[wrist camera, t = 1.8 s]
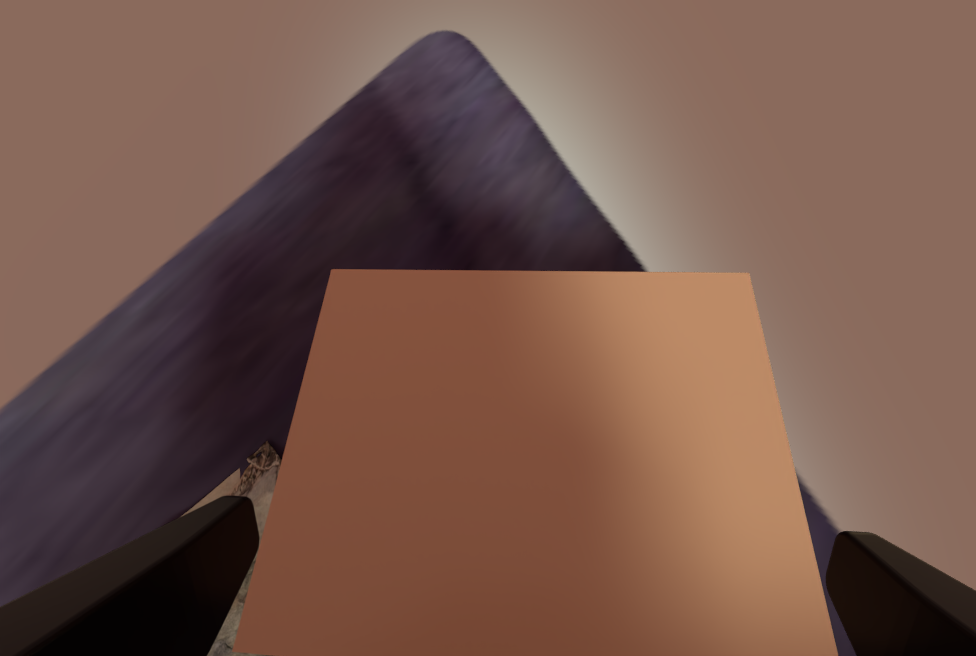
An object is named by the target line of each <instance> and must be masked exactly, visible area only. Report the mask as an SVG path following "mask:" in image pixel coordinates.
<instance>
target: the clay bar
mask: <svg viewBox="0 0 976 656" xmlns="http://www.w3.org/2000/svg"><path fill="white" fill-rule="evenodd" d="M232 652H240V653H251V654H262V655H273V656H838V653H837V648H836V644H835V640H834V636H833V631H832V627H831V623H830V618H829V614H828V610H827V605H826V601H825V597H824V593H823V588H822V584H821V580H820V575H819V571H818V567H817V563H816V558H815V554H814V550H813V545H812V541H811V537H810V532H809V528H808V524H807V520H806V515H805V511H804V507H803V502H802V498H801V494H800V489H799V485H798V481H797V477H796V472H795V468H794V464H793V459H792V455H791V451H790V447H789V442H788V438H787V434H786V429H785V425H784V421H783V416H782V412H781V408H780V404H779V399H778V395H777V391H776V386H775V382H774V378H773V373H772V370H771V365H770V361H769V357H768V352H767V348H766V343H765V339H764V335H763V330H762V327H761V322H760V318H759V313H758V309H757V305H756V300H755V296H754V292H753V288H752V283H751V279H750V275H749V273H704V272H701V273H700V272H698V273H697V272H696V273H695V272H592V271H480V270H368V269H331V273H330V277H329V281H328V285H327V289H326V293H325V296H324V300H323V304H322V308H321V312H320V316H319V319H318V323H317V327H316V331H315V335H314V339H313V343H312V346H311V350H310V354H309V358H308V362H307V366H306V369H305V373H304V377H303V381H302V385H301V389H300V393H299V396H298V400H297V404H296V408H295V412H294V416H293V419H292V423H291V427H290V431H289V435H288V439H287V443H286V446H285V450H284V454H283V458H282V462H281V466H280V469H279V473H278V477H277V481H276V485H275V489H274V493H273V496H272V500H271V504H270V508H269V512H268V516H267V519H266V523H265V527H264V531H263V535H262V539H261V543H260V546H259V550H258V554H257V558H256V562H255V566H254V569H253V573H252V577H251V581H250V585H249V589H248V593H247V596H246V600H245V604H244V608H243V612H242V616H241V619H240V623H239V627H238V631H237V635H236V639H235V643H234V646H233V650H232Z"/></svg>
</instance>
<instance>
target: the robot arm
mask: <svg viewBox="0 0 976 656" xmlns="http://www.w3.org/2000/svg"><path fill="white" fill-rule="evenodd" d="M259 540H260V538H259V531H258V526H257V521H256V516H255V510H254V505H253V502H252V500H251V499H250V498H248V497H246V496H231V495H226V496H222V497H220V498H218V499H216V500H214V501H212V502H210V503H208V504H206V505H204V506H202V507H200V508H198V509H196V510H194V511H192V512H190V513H188V514H186V515H184V516H182V517H180V518H178V519H176V520H174V521H172V522H170V523H168V524H166V525H164V526H162V527H160V528H158V529H156V530H154V531H152V532H150V533H148V534H146V535H143V536H141V537H139V538H137V539H135V540H133V541H131V542H129V543H127V544H125V545H123V546H121V547H119V548H117V549H115V550H113V551H111V552H109V553H107V554H105V555H103V556H101V557H99V558H97V559H95V560H93V561H91V562H89V563H87V564H85V565H83V566H81V567H79V568H77V569H75V570H73V571H71V572H69V573H67V574H65V575H63V576H61V577H59V578H57V579H55V580H53V581H51V582H49V583H47V584H45V585H43V586H41V587H39V588H37V589H35V590H33V591H31V592H29V593H27V594H25V595H23V596H21V597H19V598H17V599H15V600H13V601H11V602H9V603H7V604H5V605H3V606H1V607H0V656H207V655H208V653H209V651H210V650H211V648H212V646H213V644H214V642H215V640H216V638H217V636H218V634H219V632H220V630H221V628H222V626H223V623H224V621H225V619H226V617H227V615H228V613H229V611H230V609H231V607H232V605H233V602H234V600H235V598H236V596H237V594H238V592H239V590H240V588H241V586H242V584H243V581H244V579H245V577H246V575H247V573H248V571H249V569H250V567H251V565H252V563H253V560H254V558H255V556H256V554H257V551H258V548H259ZM826 586H827V590H828V593H829V596H830V598H831V600H832V602H833V604H834V607H835V609H836V611H837V613H838V615H839V618H840V620H841V622H842V624H843V627H844V629H845V631H846V633H847V635H848V638H849V640H850V642H851V644H852V646H853V649H854V651H855V653H856V655H857V656H976V591H975V590H973V589H972V588H970V587H968V586H966V585H965V584H963V583H961V582H959V581H958V580H956V579H954V578H952V577H951V576H949V575H947V574H945V573H943V572H942V571H940V570H938V569H936V568H935V567H933V566H931V565H929V564H927V563H926V562H924V561H922V560H920V559H918V558H917V557H915V556H913V555H911V554H910V553H908V552H906V551H904V550H903V549H901V548H899V547H897V546H895V545H894V544H892V543H890V542H888V541H887V540H885V539H883V538H881V537H880V536H878V535H876V534H873V533H869V532H853V531H843V532H840V533H839V534H838V535H837V536H836V539H835V542H834V546H833V549H832V553H831V557H830V561H829V565H828V568H827V572H826Z"/></svg>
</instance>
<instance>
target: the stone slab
mask: <svg viewBox="0 0 976 656" xmlns="http://www.w3.org/2000/svg"><path fill="white" fill-rule="evenodd" d="M261 451H262V454H261V455H260V456H258V457H257V458H256V455H257V454H258V453H260V452H261ZM247 460H248V463H250V462H251V464H250V465H249V466H248V467H247V468H246V470H245V472H244V473H243V475H242V477H241V479H240V468H239V469H238V470H236V471H235V472H234V473H233V474H231V475H230V476H229V477H228V478H227V479H226V480H224V481H223V482H222V483H221V484H220V485H219V486H218V487H216V488H215V489H214V490H213V491H212V492H211V493H209V494H208V495H207V496H206V497H205V498H203V499H202V500H201V501H200V502H199V503H197V504H196V505H195V506H194V507H192V508H191V509H190V510H189V511H187V512H186V513H185V514H183V515H182V516H184V515H186V514H188V513H190V512H192V511H194V510H196V509H198V508H200V507H202V506H204V505H206V504H208V503H210V502H212V501H214V500H216V499H218V498H220V497H222V496H226V495H231V496H246V497H248V498H250V499H251V500H252V502H253V505H254V510H255V516H256V521H257V526H258V531H259V538H260V540H259V546H260V543H261V539H262V535H263V531H264V527H265V523H266V519H267V516H268V512H269V508H270V504H271V500H272V496H273V493H274V489H275V485H276V481H277V477H278V473H279V469H280V466H281V462H282V461H281V459H280V458H279V456H278V455H277V453H276V450H274V449H273V448H272V447H271V445H270V444H269V443H268V441H266V442H265V443H264V444H263V445H262V446H261V447H260V448H259V449H258V451H257V452H256V453H254V454H253V455H251V456H250V457H248V458H247ZM182 516H181V517H182ZM258 550H259V548H258ZM257 554H258V551H257ZM257 554H256V556H255V558H254V560H253V563H252V565H251V567H250V569H249V571H248V573H247V575H246V577H245V579H244V581H243V584H242V586H241V588H240V590H239V592H238V594H237V596H236V598H235V600H234V602H233V605H232V607H231V609H230V611H229V613H228V615H227V617H226V619H225V621H224V623H223V626H222V628H221V630H220V632H219V634H218V636H217V638H216V640H215V642H214V644H213V646H212V648H211V650H210V651H209V653H208V655H207V656H273V655H262V654H251V653H240V652H232V650H233V646H234V643H235V639H236V635H237V631H238V627H239V623H240V619H241V616H242V612H243V608H244V604H245V600H246V596H247V593H248V589H249V585H250V581H251V577H252V573H253V569H254V566H255V562H256V558H257Z"/></svg>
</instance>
